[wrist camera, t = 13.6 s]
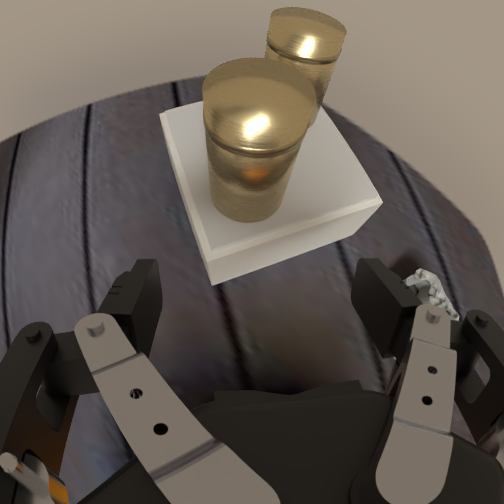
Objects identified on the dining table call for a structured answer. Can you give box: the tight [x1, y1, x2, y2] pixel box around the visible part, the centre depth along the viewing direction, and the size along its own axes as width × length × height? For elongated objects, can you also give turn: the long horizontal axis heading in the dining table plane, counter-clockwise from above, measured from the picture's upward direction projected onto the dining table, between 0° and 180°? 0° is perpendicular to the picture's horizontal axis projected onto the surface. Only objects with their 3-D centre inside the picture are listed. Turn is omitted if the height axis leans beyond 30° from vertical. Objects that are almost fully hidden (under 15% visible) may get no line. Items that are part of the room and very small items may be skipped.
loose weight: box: [202, 58, 316, 223], centre depth 16 cm, size 5×5×9 cm
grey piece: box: [393, 268, 459, 360], centre depth 23 cm, size 11×8×4 cm
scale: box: [159, 101, 383, 286], centre depth 25 cm, size 14×15×7 cm
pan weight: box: [265, 7, 346, 128], centre depth 19 cm, size 5×5×9 cm
